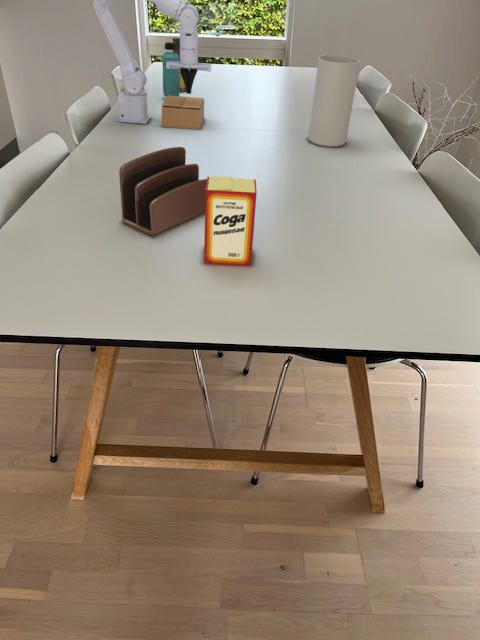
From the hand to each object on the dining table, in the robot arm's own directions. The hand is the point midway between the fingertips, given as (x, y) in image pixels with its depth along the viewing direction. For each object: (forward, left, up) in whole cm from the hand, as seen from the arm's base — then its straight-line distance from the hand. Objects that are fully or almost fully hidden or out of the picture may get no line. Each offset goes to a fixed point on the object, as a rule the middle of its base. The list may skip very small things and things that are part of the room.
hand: (188, 93), depth 180 cm
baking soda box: (+20, -92, -10) cm, 95 cm away
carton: (-2, 0, -10) cm, 10 cm away
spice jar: (+1, 0, -10) cm, 10 cm away
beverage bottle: (-11, +30, -10) cm, 33 cm away
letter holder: (+5, -75, -10) cm, 76 cm away
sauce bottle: (-10, +45, -10) cm, 47 cm away
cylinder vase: (+47, -9, -10) cm, 49 cm away
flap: (+1, 0, -3) cm, 3 cm away
